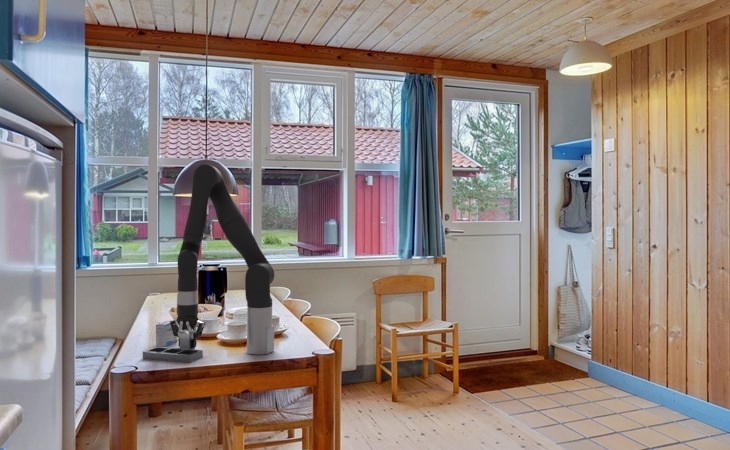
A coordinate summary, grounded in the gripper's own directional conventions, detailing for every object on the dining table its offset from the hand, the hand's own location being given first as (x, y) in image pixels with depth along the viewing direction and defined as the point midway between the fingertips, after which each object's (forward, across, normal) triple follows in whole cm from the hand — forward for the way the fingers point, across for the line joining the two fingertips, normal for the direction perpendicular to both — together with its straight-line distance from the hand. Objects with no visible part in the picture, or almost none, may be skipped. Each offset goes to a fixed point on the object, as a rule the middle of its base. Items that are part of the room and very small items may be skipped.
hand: (187, 347), depth 192 cm
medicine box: (+2, +14, -7) cm, 16 cm away
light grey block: (+1, 0, 0) cm, 1 cm away
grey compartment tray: (+1, 0, +9) cm, 9 cm away
